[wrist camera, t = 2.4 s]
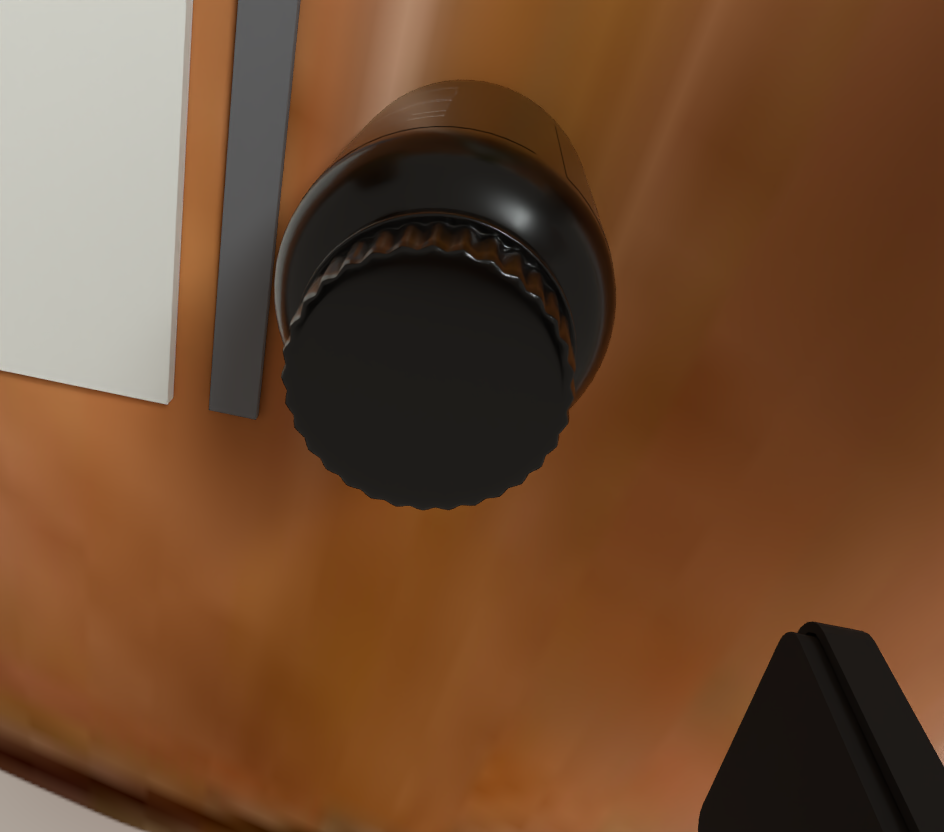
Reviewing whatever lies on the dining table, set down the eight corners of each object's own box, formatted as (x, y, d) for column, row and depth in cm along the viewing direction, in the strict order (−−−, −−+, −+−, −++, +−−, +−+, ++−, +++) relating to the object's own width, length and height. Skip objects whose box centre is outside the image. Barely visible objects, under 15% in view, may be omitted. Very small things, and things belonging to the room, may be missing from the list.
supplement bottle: (341, 305, 26) (211, 535, 15) (352, 61, 23) (198, 138, 12) (569, 333, 26) (597, 583, 15) (610, 93, 23) (681, 198, 12)
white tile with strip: (317, -171, 21) (312, -174, 20) (258, 415, 28) (253, 422, 27) (-225, -298, 20) (-243, -305, 20) (-142, 332, 27) (-153, 338, 27)
